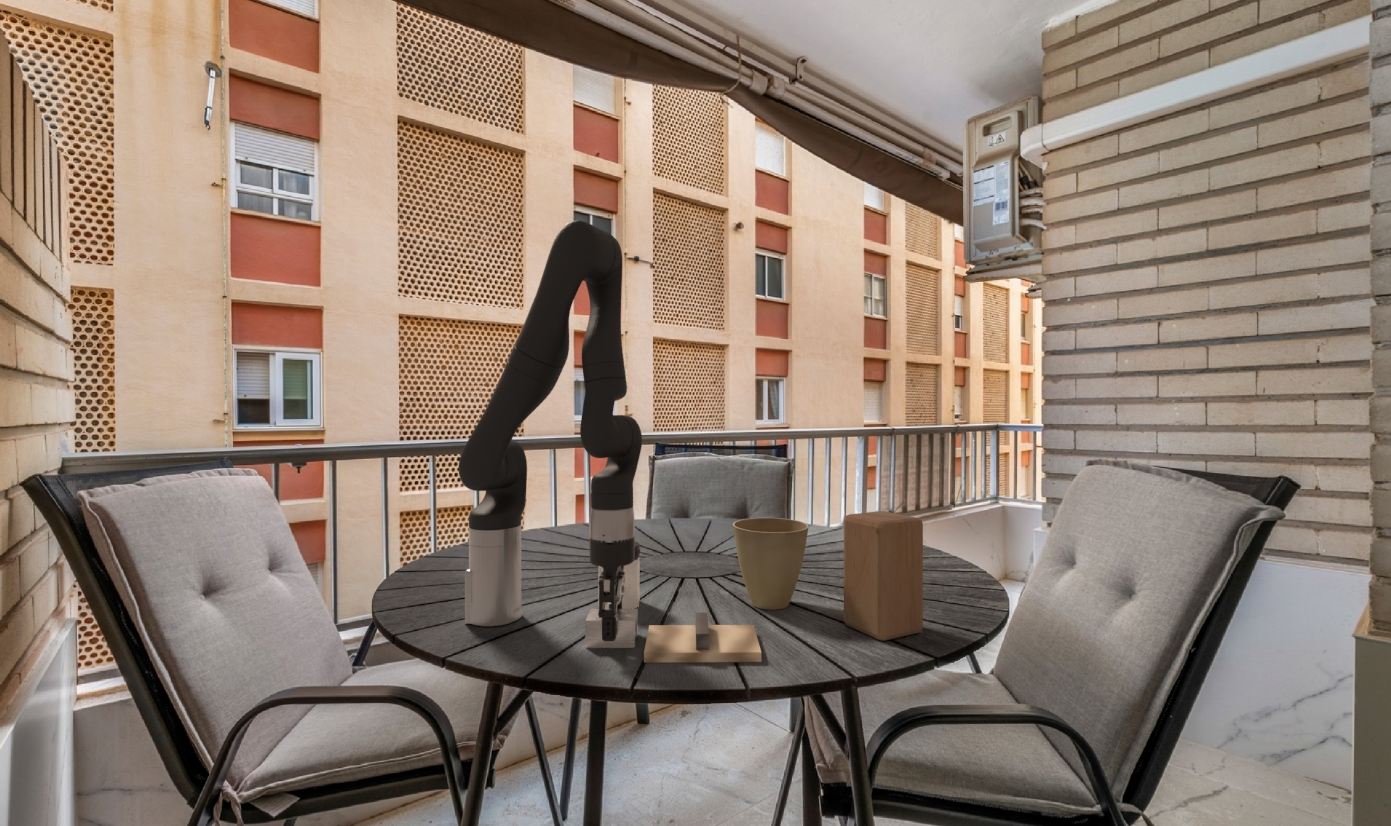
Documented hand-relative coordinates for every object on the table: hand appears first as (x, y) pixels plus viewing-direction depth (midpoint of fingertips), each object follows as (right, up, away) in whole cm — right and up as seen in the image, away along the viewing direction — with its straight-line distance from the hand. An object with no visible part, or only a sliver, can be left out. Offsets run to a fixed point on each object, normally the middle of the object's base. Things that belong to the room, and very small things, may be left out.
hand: (612, 630), depth 103 cm
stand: (+15, -2, -3) cm, 15 cm away
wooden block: (+47, -2, +5) cm, 47 cm away
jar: (-1, -2, +19) cm, 19 cm away
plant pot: (+29, -2, +19) cm, 35 cm away
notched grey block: (0, -2, 0) cm, 2 cm away
